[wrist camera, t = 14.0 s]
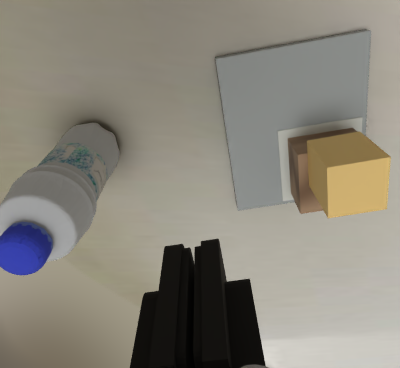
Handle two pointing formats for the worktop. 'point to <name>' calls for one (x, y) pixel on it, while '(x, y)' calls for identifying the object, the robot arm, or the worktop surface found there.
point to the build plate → (288, 106)
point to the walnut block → (305, 170)
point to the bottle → (56, 199)
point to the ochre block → (348, 174)
